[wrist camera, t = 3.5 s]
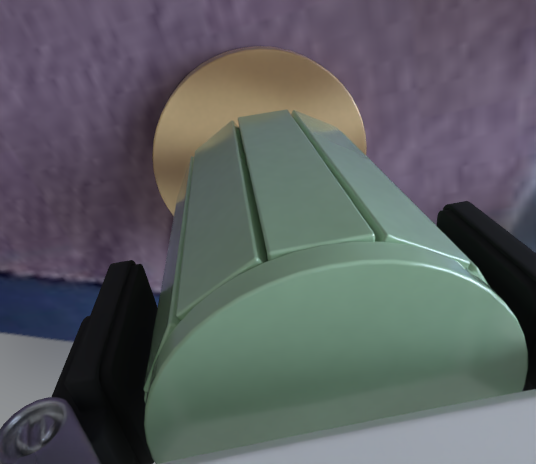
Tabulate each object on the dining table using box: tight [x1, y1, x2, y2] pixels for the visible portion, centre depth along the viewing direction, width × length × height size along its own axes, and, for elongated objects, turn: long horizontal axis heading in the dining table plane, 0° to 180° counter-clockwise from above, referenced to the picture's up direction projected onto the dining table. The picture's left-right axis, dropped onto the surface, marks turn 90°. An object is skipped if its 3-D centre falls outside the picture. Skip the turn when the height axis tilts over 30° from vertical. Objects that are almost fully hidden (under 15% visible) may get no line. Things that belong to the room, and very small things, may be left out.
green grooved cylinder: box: [144, 109, 528, 464], centre depth 11 cm, size 7×7×9 cm
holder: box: [152, 46, 366, 216], centre depth 14 cm, size 10×10×14 cm
